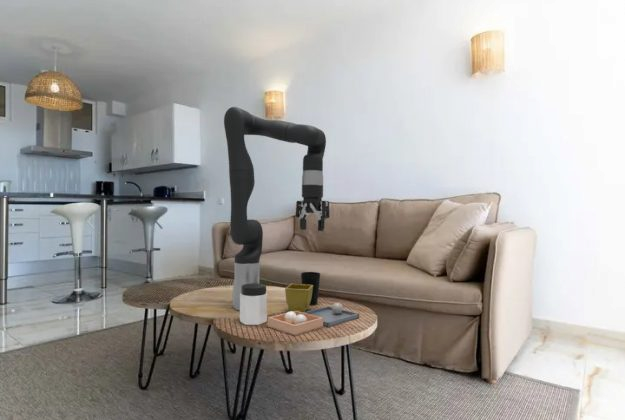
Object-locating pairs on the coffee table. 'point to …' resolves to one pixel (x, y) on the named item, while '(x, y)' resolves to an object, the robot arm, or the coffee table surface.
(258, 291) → the jar
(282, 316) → the dish
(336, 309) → the pebble
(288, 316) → the white ball
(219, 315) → the coffee table surface
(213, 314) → the coffee table surface
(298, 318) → the pebble
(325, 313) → the tray
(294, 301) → the flower pot
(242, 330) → the coffee table surface
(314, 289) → the cup
